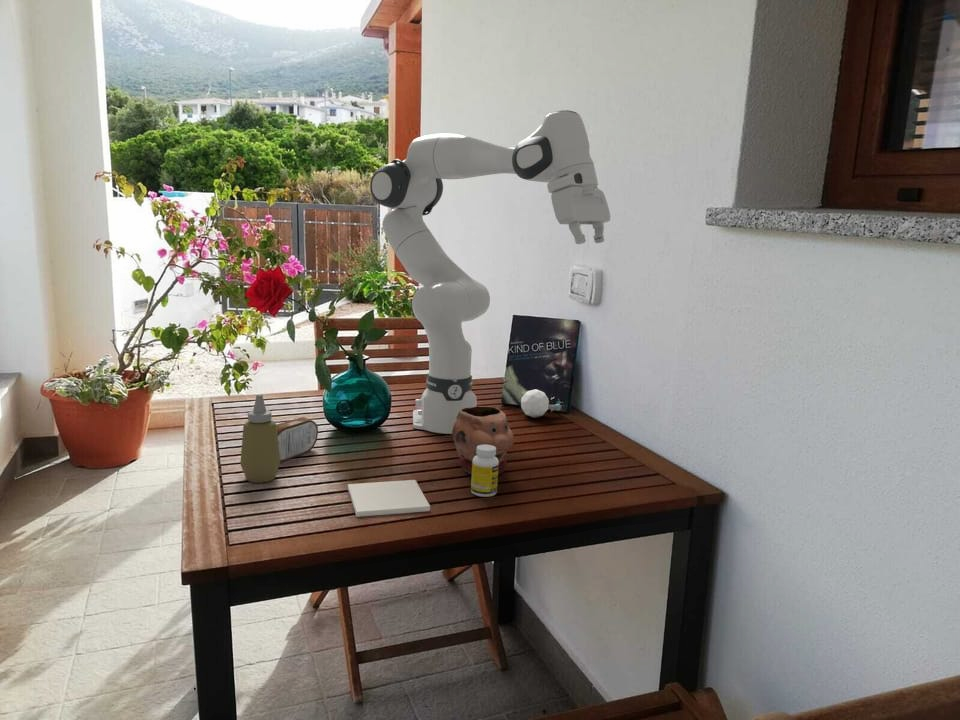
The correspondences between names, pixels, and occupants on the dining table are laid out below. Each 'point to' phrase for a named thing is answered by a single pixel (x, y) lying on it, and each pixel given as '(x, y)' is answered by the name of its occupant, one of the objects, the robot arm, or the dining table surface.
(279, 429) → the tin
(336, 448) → the dining table surface
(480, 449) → the supplement bottle
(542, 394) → the perfume bottle
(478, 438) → the decorative planter
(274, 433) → the squeeze bottle
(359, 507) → the tile
